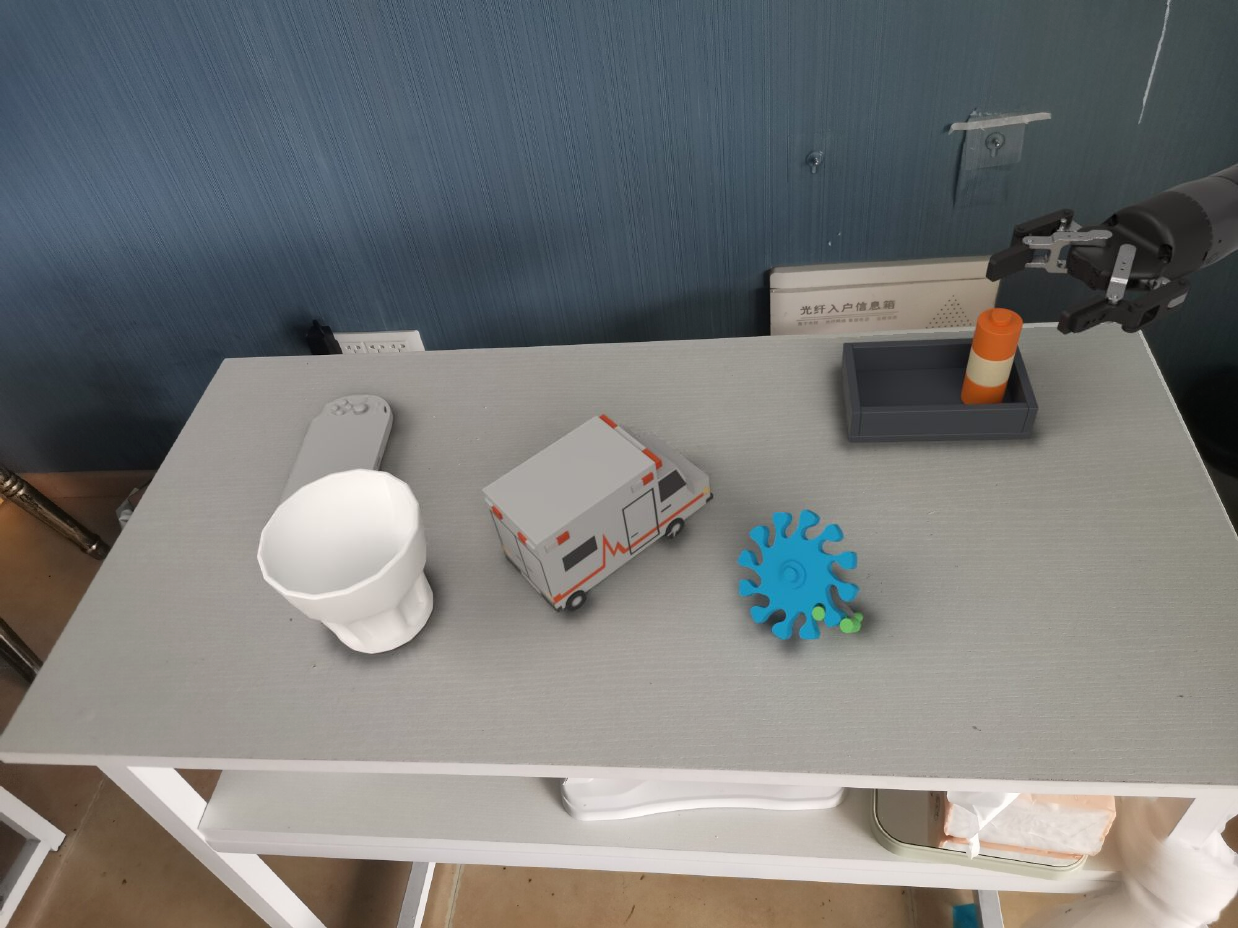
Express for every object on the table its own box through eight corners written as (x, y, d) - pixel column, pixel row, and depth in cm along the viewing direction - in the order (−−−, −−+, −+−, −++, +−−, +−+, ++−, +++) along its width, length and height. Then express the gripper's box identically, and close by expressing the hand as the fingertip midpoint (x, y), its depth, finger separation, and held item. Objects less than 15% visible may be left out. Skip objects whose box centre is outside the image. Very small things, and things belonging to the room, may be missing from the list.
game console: (351, 528, 78) (263, 531, 79) (360, 545, 80) (274, 548, 81) (395, 389, 90) (319, 393, 91) (402, 406, 92) (327, 410, 93)
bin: (1007, 367, 85) (1015, 336, 82) (1029, 439, 79) (1039, 408, 76) (840, 372, 87) (843, 342, 85) (849, 442, 81) (852, 413, 78)
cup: (281, 645, 74) (221, 567, 66) (371, 534, 81) (327, 451, 73) (400, 698, 69) (351, 621, 61) (484, 575, 76) (451, 491, 68)
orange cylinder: (1011, 400, 81) (1034, 317, 74) (980, 417, 80) (1001, 334, 73) (981, 379, 83) (1001, 296, 76) (952, 395, 82) (969, 313, 75)
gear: (710, 571, 71) (789, 481, 67) (748, 571, 76) (824, 486, 72) (798, 681, 65) (889, 588, 62) (833, 674, 70) (921, 587, 66)
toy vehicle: (722, 511, 77) (717, 431, 70) (565, 628, 71) (542, 554, 64) (651, 455, 83) (640, 376, 76) (500, 559, 77) (472, 484, 70)
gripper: (1124, 159, 79) (974, 218, 76) (1266, 233, 70) (1102, 304, 66) (1100, 232, 84) (960, 290, 81) (1229, 309, 75) (1077, 378, 72)
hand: (1024, 296), depth 74 cm, fingers open, 8 cm apart
